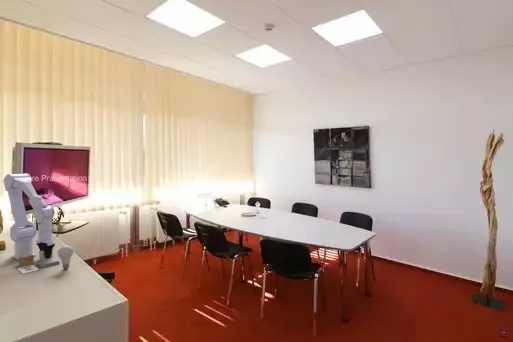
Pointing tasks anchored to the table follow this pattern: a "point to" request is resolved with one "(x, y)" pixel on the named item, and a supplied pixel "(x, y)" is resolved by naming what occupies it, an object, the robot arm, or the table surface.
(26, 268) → the blueprint sheet
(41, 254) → the block
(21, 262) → the block
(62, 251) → the lightbulb
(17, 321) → the table surface
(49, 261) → the slab
